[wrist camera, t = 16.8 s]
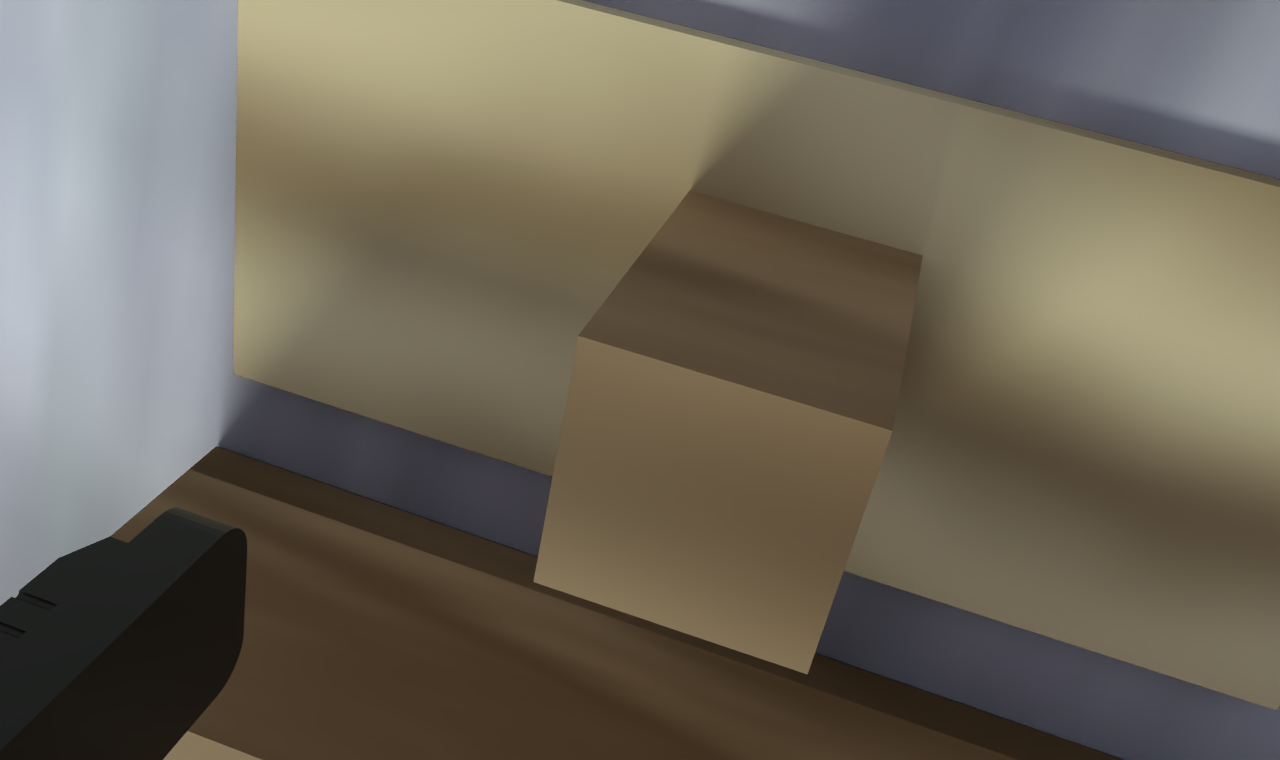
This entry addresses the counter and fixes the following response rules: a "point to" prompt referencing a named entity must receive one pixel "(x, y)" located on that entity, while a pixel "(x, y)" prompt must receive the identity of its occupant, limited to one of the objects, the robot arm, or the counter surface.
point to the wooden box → (507, 656)
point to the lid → (776, 323)
